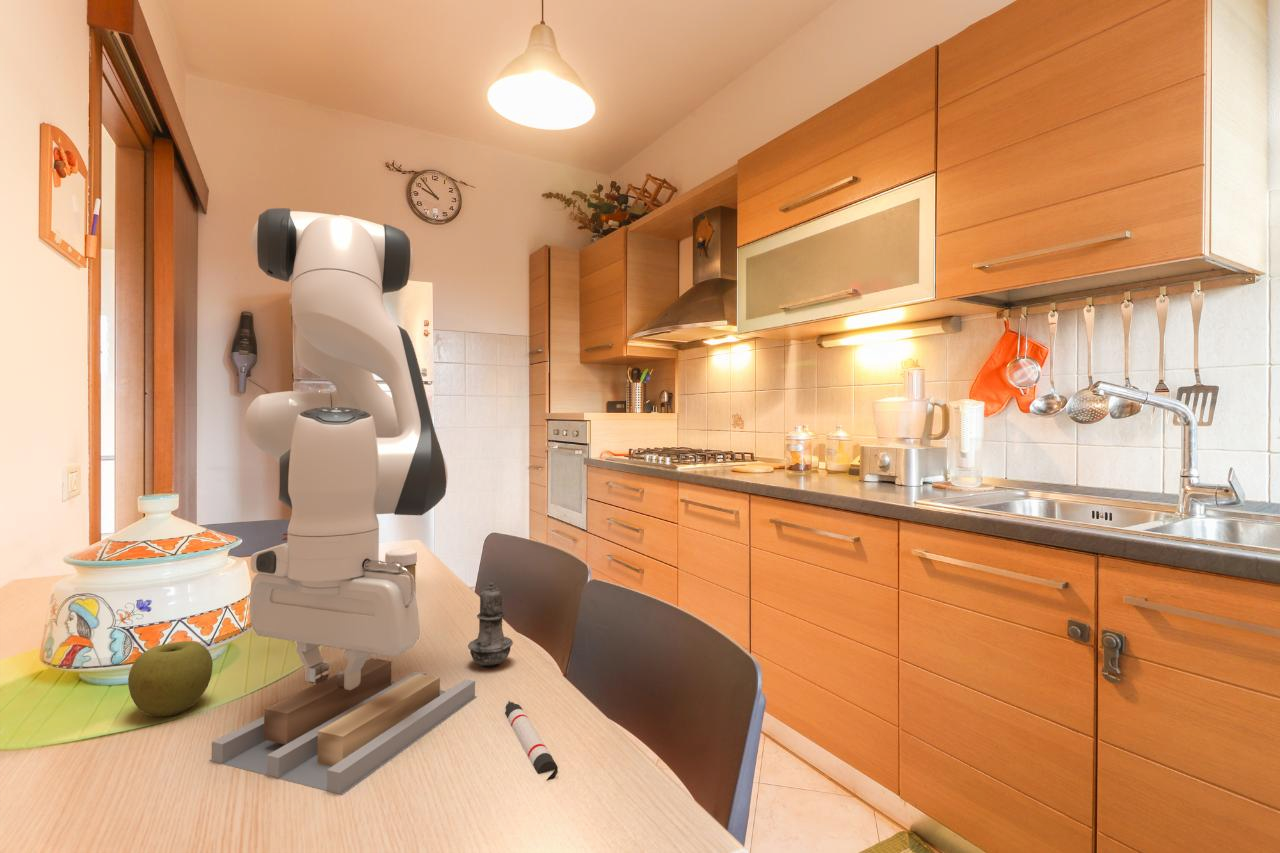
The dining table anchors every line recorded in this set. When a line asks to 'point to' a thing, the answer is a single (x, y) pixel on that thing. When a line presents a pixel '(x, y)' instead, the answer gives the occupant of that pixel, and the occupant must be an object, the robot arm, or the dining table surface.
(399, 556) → the sprinkles bottle
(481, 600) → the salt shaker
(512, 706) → the marker
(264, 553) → the robot arm
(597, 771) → the dining table surface
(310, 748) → the slot board
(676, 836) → the dining table surface
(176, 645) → the apple
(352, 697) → the walnut rod
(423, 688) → the oak rod
